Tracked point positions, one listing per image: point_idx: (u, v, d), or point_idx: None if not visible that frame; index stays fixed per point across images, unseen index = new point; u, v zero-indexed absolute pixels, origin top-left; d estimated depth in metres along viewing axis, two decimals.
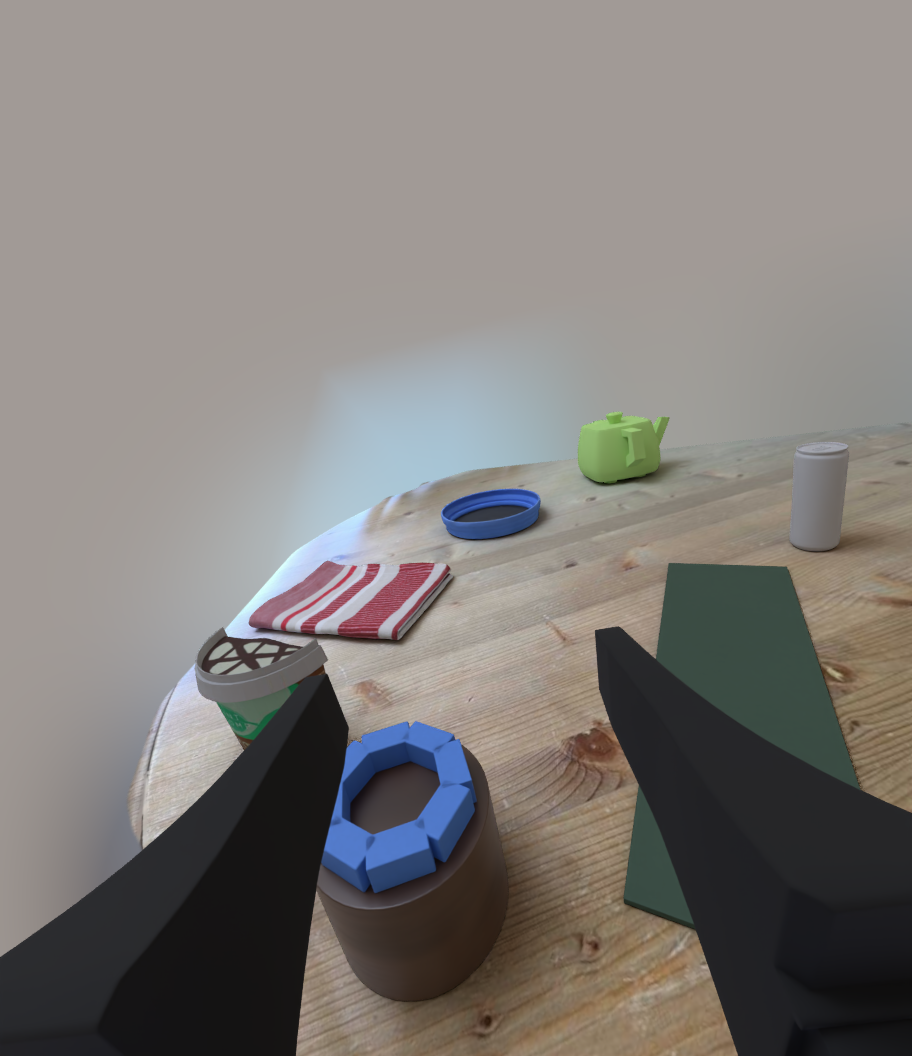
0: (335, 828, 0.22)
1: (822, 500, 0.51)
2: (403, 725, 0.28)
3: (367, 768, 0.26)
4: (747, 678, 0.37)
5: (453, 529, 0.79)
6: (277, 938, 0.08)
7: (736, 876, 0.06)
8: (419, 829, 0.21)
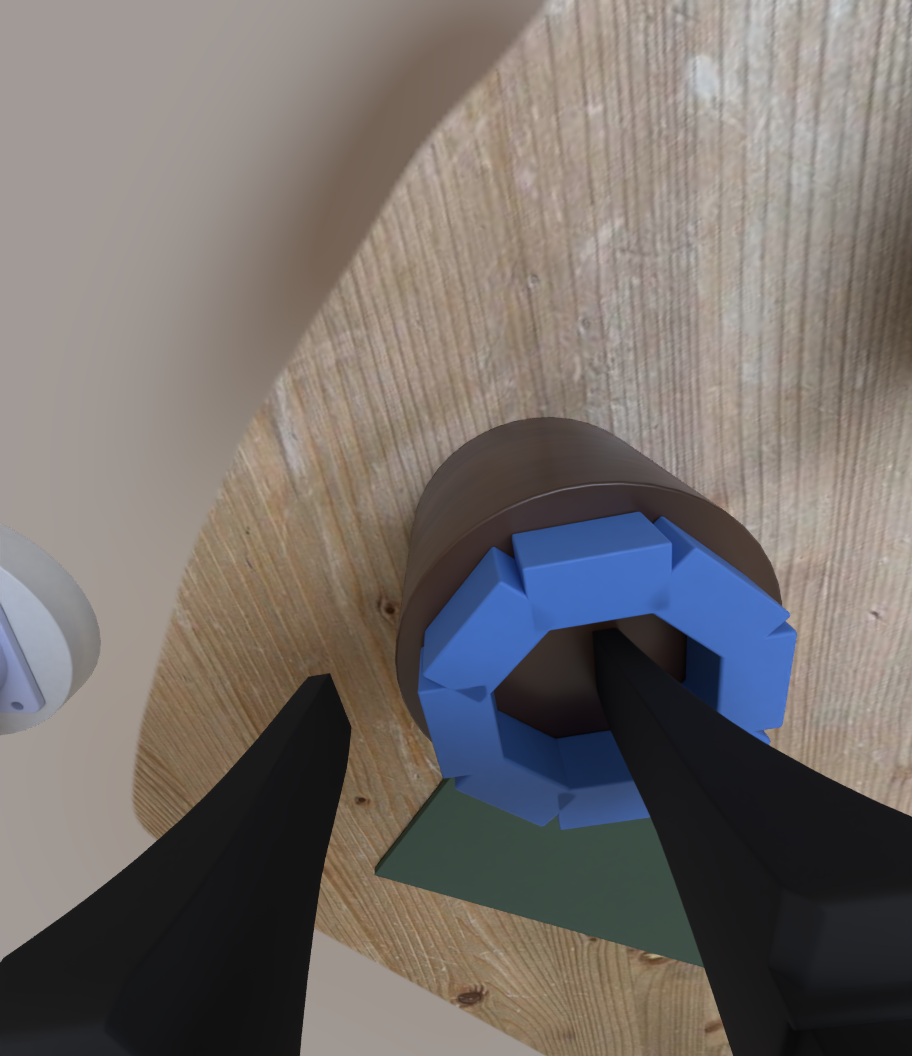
0: (523, 623, 0.09)
1: None
2: (771, 722, 0.11)
3: None
4: None
5: None
6: (281, 938, 0.08)
7: (730, 877, 0.06)
8: (481, 764, 0.11)
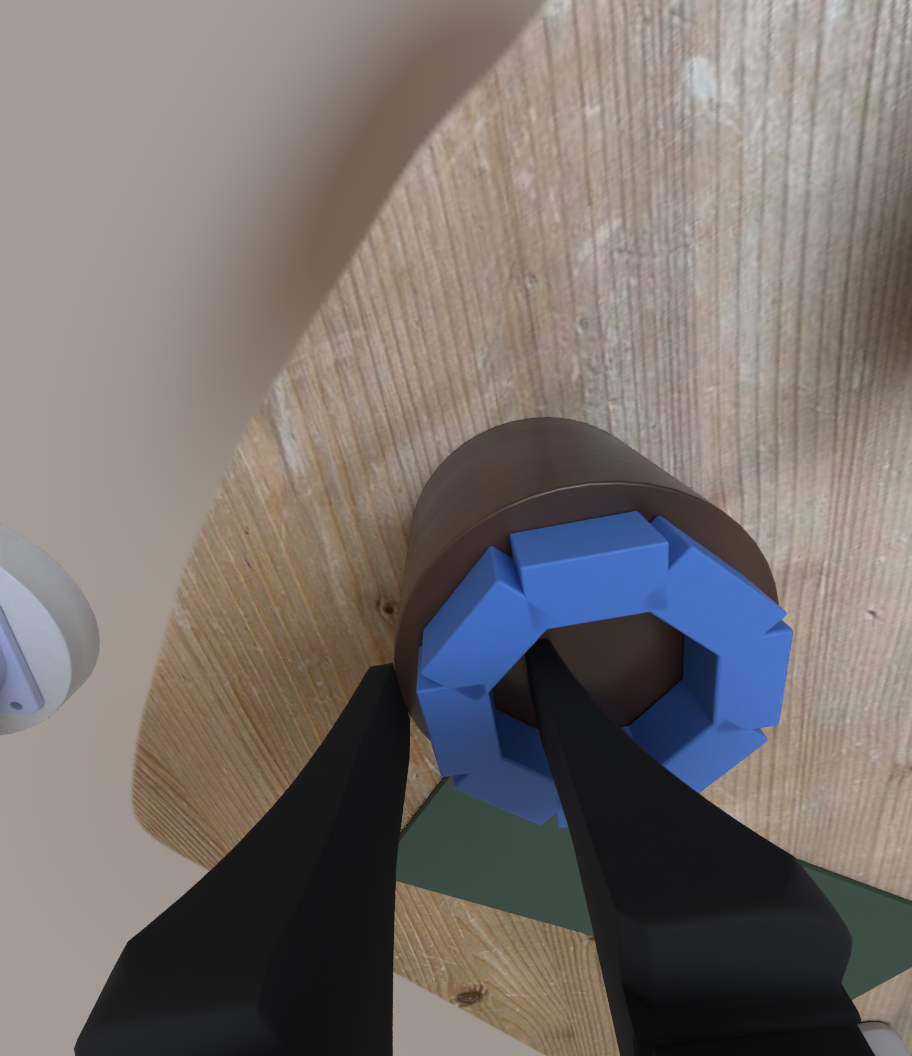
0: (521, 621, 0.09)
1: None
2: (767, 720, 0.11)
3: None
4: None
5: None
6: (372, 926, 0.08)
7: (599, 894, 0.06)
8: (480, 763, 0.11)
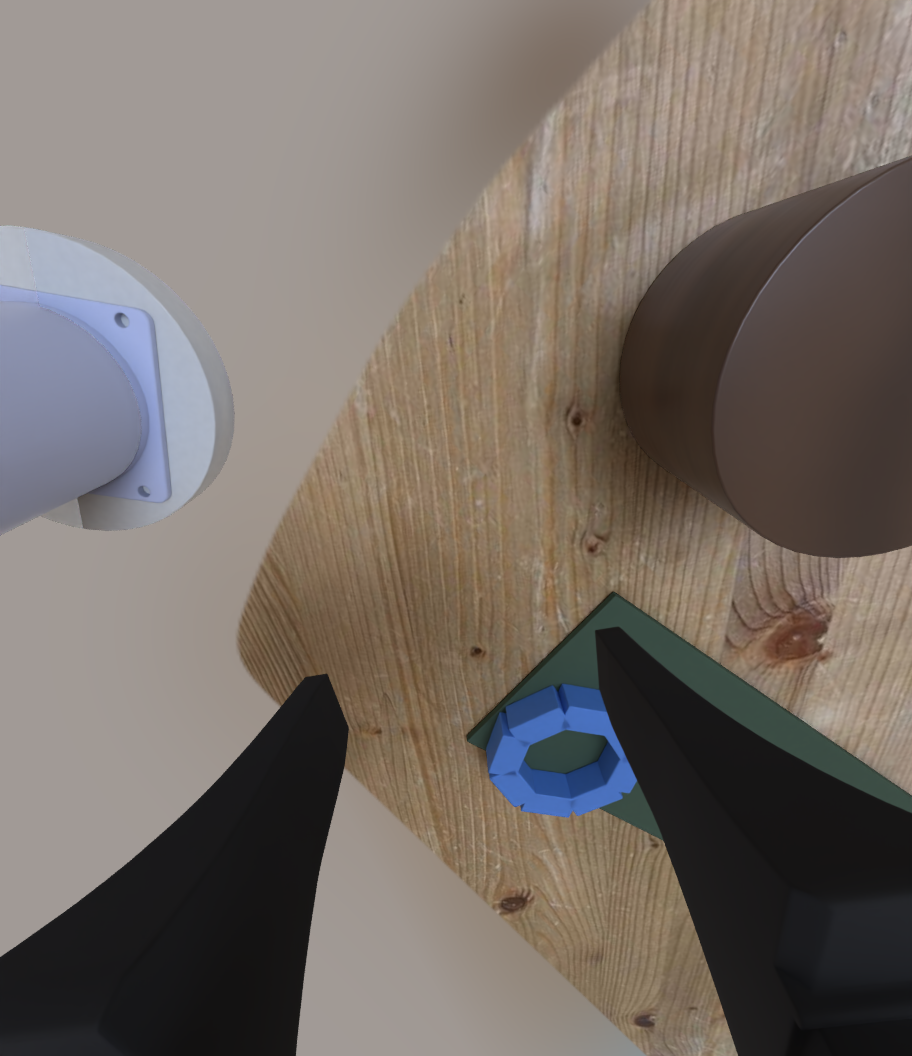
0: (558, 724, 0.23)
1: None
2: (626, 790, 0.25)
3: None
4: None
5: None
6: (277, 938, 0.08)
7: (736, 876, 0.06)
8: (507, 772, 0.25)
